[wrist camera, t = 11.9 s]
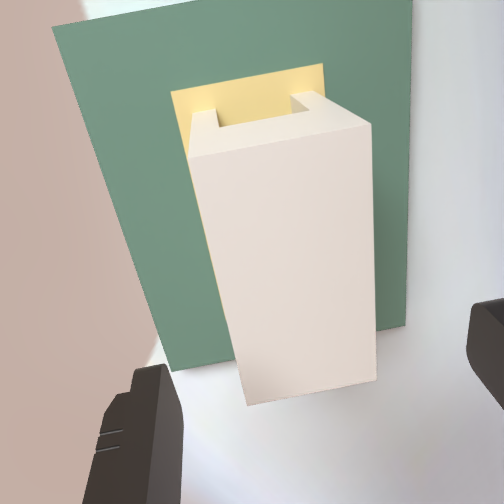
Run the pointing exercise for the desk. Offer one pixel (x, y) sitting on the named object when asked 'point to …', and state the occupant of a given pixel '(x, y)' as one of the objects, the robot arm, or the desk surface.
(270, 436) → the desk surface
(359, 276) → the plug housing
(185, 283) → the header board
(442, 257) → the desk surface
